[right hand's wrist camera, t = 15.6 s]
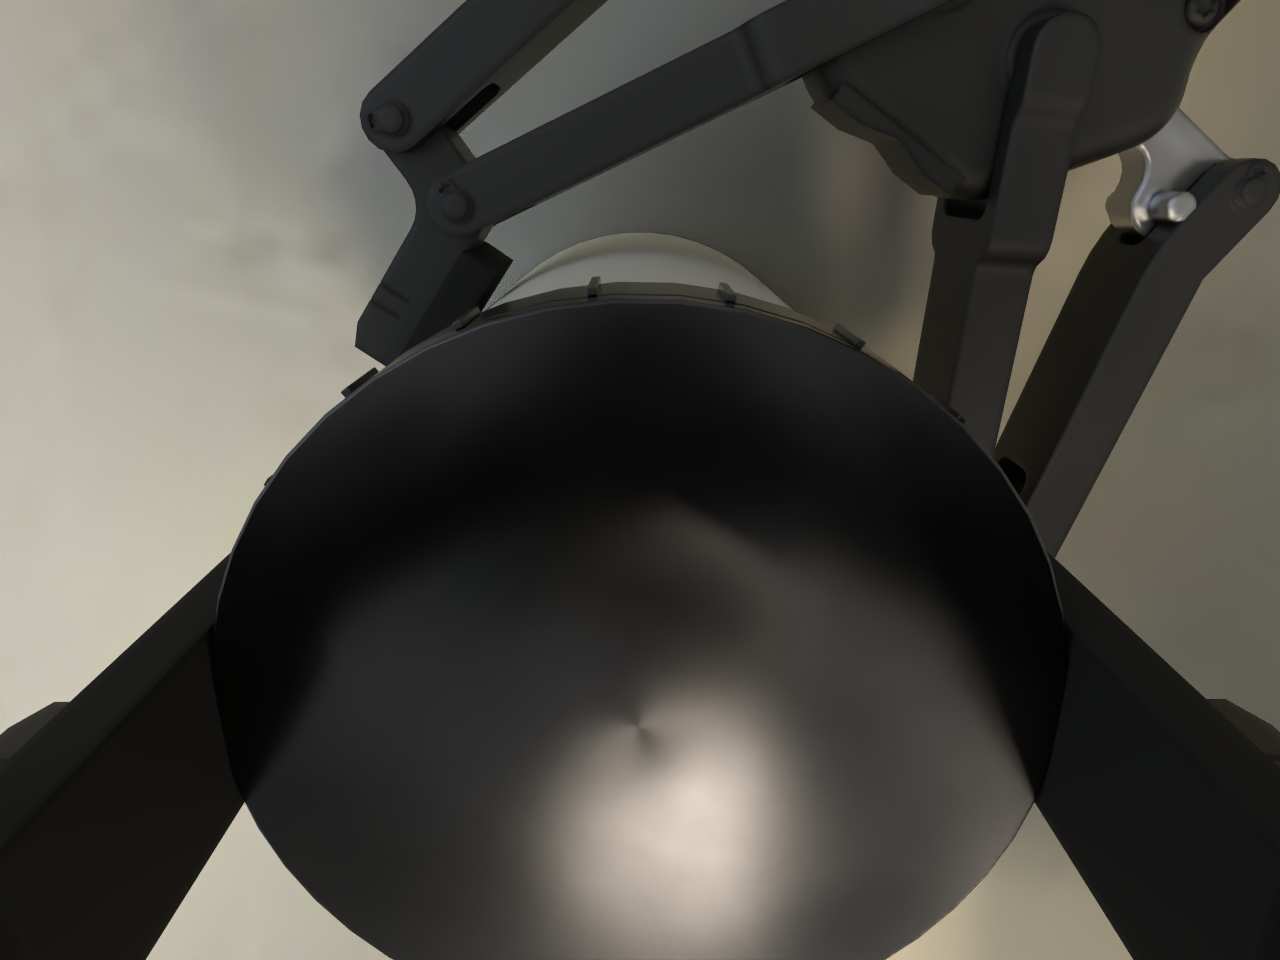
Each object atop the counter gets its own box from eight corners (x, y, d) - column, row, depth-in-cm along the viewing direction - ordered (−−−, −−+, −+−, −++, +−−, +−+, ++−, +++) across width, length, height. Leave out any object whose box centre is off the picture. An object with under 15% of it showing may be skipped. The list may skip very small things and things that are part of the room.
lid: (1179, 507, 11) (1261, 557, 10) (771, 1018, 15) (785, 1115, 13) (437, 107, 10) (400, 94, 8) (168, 790, 13) (107, 871, 12)
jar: (543, 597, 28) (441, 1039, 14) (416, 301, 24) (105, 476, 10) (844, 504, 27) (1076, 881, 12) (755, 180, 23) (934, 189, 9)
